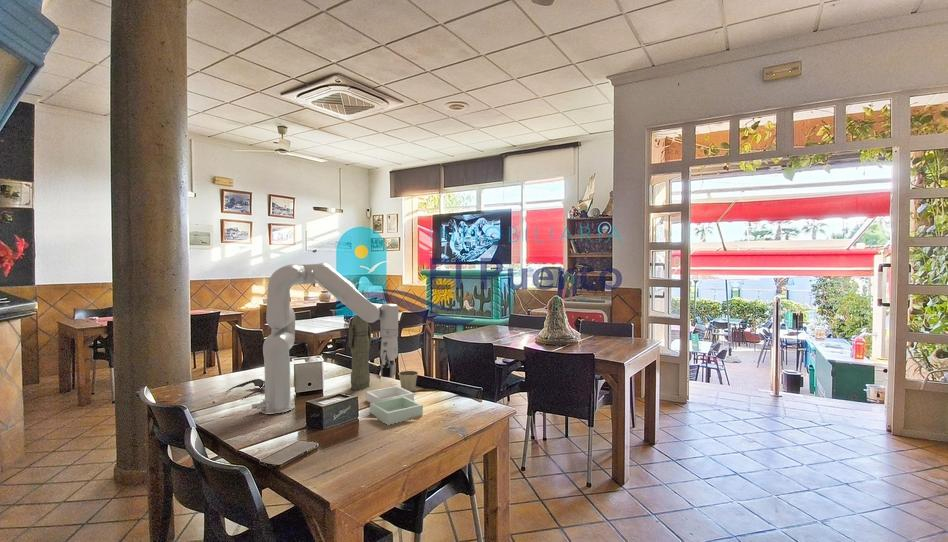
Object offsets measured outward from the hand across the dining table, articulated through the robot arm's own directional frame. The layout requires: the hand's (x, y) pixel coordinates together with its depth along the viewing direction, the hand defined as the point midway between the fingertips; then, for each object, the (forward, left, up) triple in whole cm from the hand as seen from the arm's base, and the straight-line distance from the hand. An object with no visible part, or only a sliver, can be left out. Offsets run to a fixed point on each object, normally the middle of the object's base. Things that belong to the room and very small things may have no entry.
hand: (388, 374), depth 186 cm
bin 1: (+1, 0, -12) cm, 12 cm away
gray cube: (0, 0, 0) cm, 0 cm away
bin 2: (-5, -16, -12) cm, 21 cm away
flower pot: (+16, +10, -12) cm, 22 cm away
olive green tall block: (+1, +30, -12) cm, 33 cm away
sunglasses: (-44, +54, -13) cm, 71 cm away
